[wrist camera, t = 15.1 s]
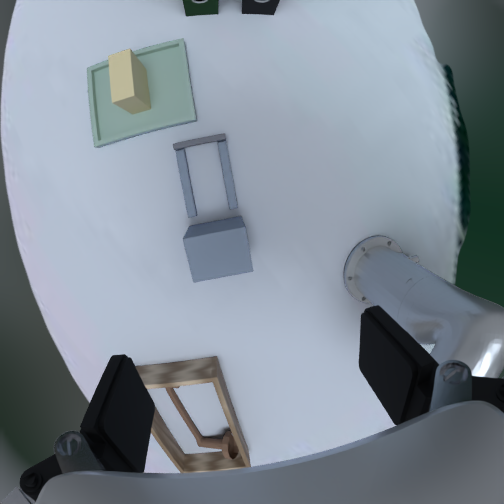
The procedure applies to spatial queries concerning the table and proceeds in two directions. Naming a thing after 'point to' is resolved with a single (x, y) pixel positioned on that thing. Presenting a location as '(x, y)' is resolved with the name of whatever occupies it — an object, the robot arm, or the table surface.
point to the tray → (160, 90)
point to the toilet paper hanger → (225, 444)
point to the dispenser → (214, 225)
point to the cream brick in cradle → (128, 82)
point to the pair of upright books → (248, 7)
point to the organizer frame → (211, 372)
